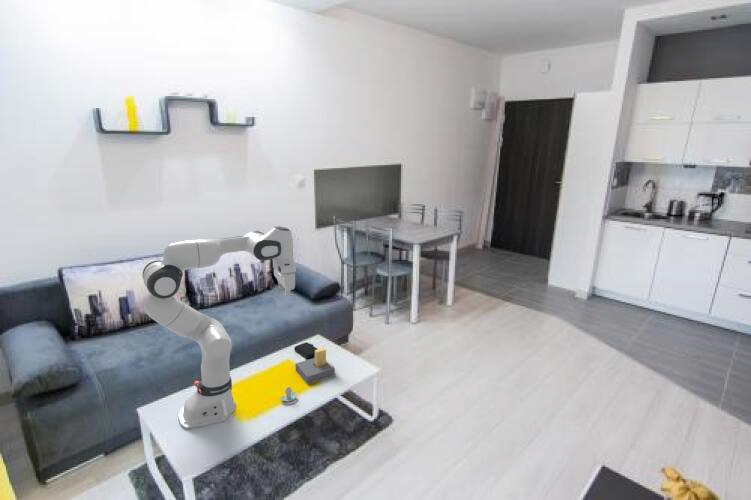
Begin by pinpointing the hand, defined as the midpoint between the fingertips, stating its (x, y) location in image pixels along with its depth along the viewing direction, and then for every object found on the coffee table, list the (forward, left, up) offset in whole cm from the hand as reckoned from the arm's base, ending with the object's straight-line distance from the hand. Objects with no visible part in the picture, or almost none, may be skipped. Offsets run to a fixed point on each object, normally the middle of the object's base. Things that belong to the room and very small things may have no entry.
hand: (284, 292), depth 179 cm
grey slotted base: (+16, +3, -47) cm, 50 cm away
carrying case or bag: (+22, +24, -48) cm, 58 cm away
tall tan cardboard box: (+19, +3, -47) cm, 51 cm away
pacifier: (-3, -12, -48) cm, 49 cm away
